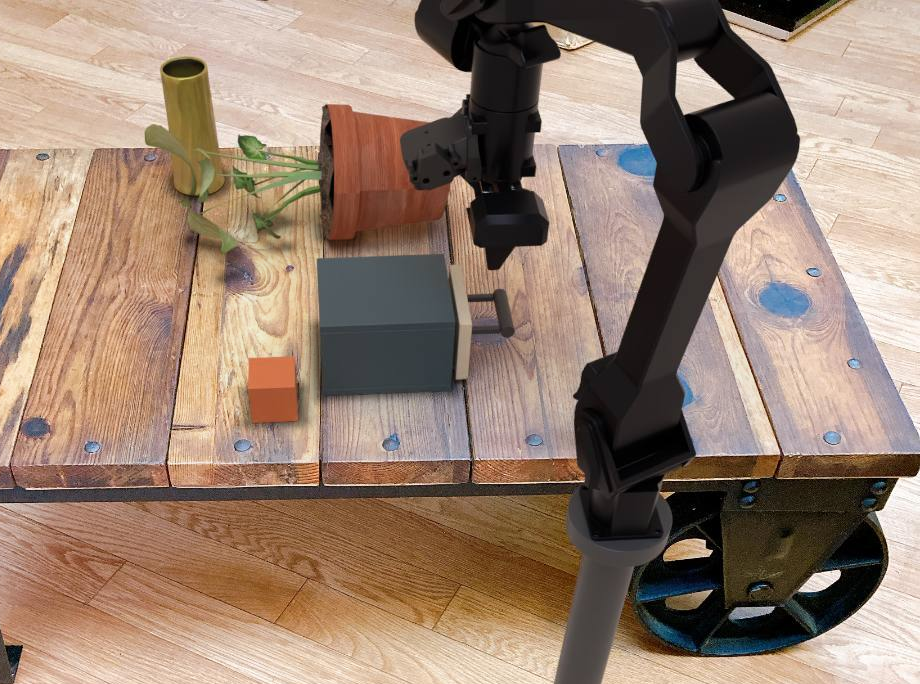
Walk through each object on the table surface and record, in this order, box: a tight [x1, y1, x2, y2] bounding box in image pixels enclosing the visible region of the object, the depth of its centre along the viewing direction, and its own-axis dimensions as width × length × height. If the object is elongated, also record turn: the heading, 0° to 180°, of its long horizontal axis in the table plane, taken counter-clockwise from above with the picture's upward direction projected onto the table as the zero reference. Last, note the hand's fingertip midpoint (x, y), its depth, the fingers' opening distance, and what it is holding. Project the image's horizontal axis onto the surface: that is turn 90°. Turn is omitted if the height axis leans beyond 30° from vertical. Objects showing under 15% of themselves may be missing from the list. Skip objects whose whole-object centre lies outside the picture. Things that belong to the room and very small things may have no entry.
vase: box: [159, 55, 226, 197], centre depth 128 cm, size 6×6×14 cm
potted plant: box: [144, 103, 452, 255], centre depth 121 cm, size 16×15×35 cm
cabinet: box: [316, 253, 455, 397], centre depth 109 cm, size 13×11×9 cm
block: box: [247, 355, 299, 424], centre depth 106 cm, size 4×4×4 cm
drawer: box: [448, 263, 516, 380], centre depth 109 cm, size 16×9×7 cm, turn 94°
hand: (490, 255), depth 103 cm, fingers open, 4 cm apart
